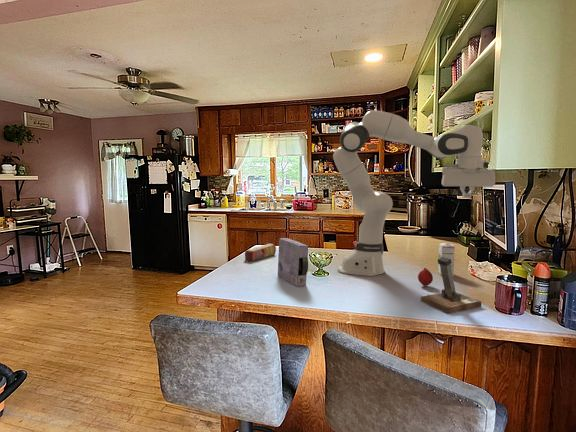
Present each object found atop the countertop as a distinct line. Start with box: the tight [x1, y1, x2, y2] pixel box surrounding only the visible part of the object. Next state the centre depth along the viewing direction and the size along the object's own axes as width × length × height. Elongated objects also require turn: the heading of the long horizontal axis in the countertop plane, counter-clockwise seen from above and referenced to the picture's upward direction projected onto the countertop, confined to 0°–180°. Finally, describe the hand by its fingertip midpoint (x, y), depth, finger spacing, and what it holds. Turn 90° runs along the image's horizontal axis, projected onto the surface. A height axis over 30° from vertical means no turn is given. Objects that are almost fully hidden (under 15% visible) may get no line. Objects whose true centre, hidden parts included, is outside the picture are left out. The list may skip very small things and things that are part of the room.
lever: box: [437, 257, 457, 299], centre depth 119 cm, size 2×4×15 cm, turn 23°
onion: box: [417, 267, 434, 287], centre depth 141 cm, size 6×6×8 cm
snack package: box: [244, 243, 277, 262], centre depth 190 cm, size 21×7×7 cm, turn 145°
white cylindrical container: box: [437, 242, 456, 277], centre depth 158 cm, size 6×6×14 cm
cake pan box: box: [277, 237, 309, 288], centre depth 147 cm, size 19×5×18 cm, turn 29°
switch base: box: [420, 288, 482, 315], centre depth 121 cm, size 16×12×5 cm
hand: (466, 197), depth 143 cm, fingers closed
